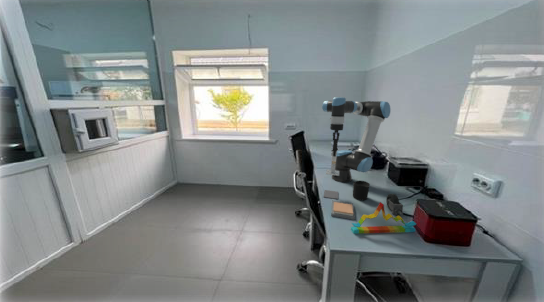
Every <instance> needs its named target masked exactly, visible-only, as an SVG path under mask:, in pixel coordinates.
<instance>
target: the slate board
mask: <svg viewBox="0 0 544 302" xmlns="http://www.w3.org/2000/svg"><path fill="white" fill-rule="evenodd" d="M331 200H332V199H331ZM334 202H337V203H344V204H351V205H352V208H353V216H350V215H344V214H338V213H333V210H334ZM354 207H355V206H354V203H352V202H348V201H347V202H346V201H341V200H334V199H333V200H332V201H331V212H330V216H331V217H333V218H341V219H345V220H346V219H348V220H354V221H355V220H356V213H355V208H354Z"/></svg>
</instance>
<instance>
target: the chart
mask: <svg viewBox="0 0 544 302" xmlns="http://www.w3.org/2000/svg"><path fill="white" fill-rule="evenodd" d="M380 212H381V213H382V218H383V220H385V222H387V221H388V220H390V219H391V218H392V219H393V220H394V221H395V222H399V221H400V222H401V223H402V224H403V225H377V226H369V225H368V226H362V224H363V223H364V221H365V220H366V219H370V220H372V219H374V218H377V217H378V215H379V214H380ZM351 225H352V226H351V227H350V231H351V233H352V234H353V235H354V234H357V235H358V234H383V233H385V234H387V233H388V234H389V233H415V232H416V228H415V227H414V226H416V225H417V223H416V222H415V221H414V220H411V221H409V222H405V221H404V219H403V217H402V216H401V215H395V217H394V216H393V214H391V213H387V214H386V209H385V205H384V204H383V203H382V202H381V201H380V202H379V203H378V205H377V207H376V209H374V212H373V213H371V214H362V216H361V217H360V219H359V220H358V221H357V223H355V222H351Z"/></svg>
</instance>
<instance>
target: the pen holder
mask: <svg viewBox="0 0 544 302" xmlns="http://www.w3.org/2000/svg"><path fill="white" fill-rule="evenodd" d="M352 184H353V186H352V197H353V199H355V200H358V201H366V200H368V196H369V191H370V185H371V184H370V183H369V182H368V181H365V180H356V181H353V183H352Z"/></svg>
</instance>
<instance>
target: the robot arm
mask: <svg viewBox="0 0 544 302" xmlns="http://www.w3.org/2000/svg"><path fill="white" fill-rule="evenodd" d="M321 106H322V107H321V108H322V111H323V112H327V113H331V116H330V117H329V118H330V119H329V120H330V125H329V126H330V127H329V129H330V130H332V131H334V132H332V141H333V142H332V143H333V144H332V149H331V153H332V154H331V162H332V161H336V164H335V170H337V171H339V176H337V175H331V179H332V180H334V181H335V182H339V183H340V182H341V183H349V182H351V181H352V180H353V179H352V177H353V176H352V173H351V172H352V171H351V170H353V171H357V172H360V173H367V172H369V171H370V170H371V168H372V166H373V163H374V161H373V158H372V154H371V152H372V148H373V146H374V144H375V140H376V138H377V135H378V132H379V129H380V126H381V124H382V123H383V122H385V119H388V118H389V117H390V115H391V105H390V103H389V102H388V101H382V100H381V101H378V100H377V101H375V100H374V101H372V100H367V101H354V100H347V98H346V97H340V96H339V97H335V96H334V97H333V98H332V100H325V101H323V103H322V105H321ZM345 114H353V115H357V116H361V117H367V124H366V126H365V128H364V131H363V134H362V137H361V141H360V143H359V146H358V149H356V150H355V151H354V153H353V151H352V150H348V149H345V150H344V149H343V150H342V149H341V150H339V148H338V144H339V143H338V141H339V139H340V134H341V133H340V131H343V130H344V123H345Z"/></svg>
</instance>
